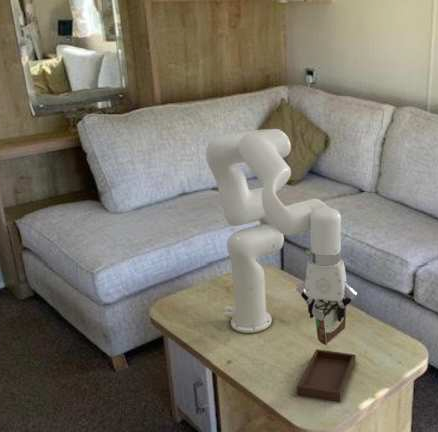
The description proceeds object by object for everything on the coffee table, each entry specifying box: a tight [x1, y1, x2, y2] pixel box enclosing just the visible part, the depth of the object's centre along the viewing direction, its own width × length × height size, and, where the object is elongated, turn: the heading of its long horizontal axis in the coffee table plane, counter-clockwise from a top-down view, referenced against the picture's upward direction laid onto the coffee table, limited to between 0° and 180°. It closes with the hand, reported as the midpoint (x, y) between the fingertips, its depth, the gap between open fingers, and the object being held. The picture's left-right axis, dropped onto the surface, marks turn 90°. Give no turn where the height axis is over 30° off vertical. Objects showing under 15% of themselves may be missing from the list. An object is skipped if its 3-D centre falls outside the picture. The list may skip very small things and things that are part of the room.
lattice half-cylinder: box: [312, 293, 349, 346], centre depth 164 cm, size 12×6×10 cm, turn 150°
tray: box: [296, 348, 357, 403], centre depth 170 cm, size 12×18×3 cm, turn 168°
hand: (326, 316), depth 164 cm, fingers closed on lattice half-cylinder, 7 cm apart
